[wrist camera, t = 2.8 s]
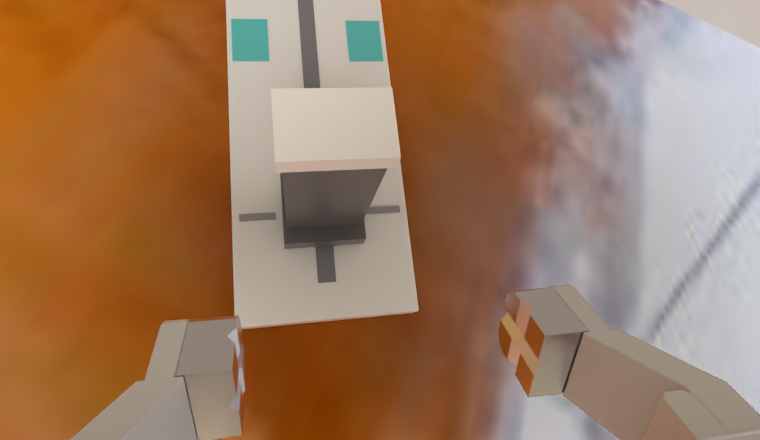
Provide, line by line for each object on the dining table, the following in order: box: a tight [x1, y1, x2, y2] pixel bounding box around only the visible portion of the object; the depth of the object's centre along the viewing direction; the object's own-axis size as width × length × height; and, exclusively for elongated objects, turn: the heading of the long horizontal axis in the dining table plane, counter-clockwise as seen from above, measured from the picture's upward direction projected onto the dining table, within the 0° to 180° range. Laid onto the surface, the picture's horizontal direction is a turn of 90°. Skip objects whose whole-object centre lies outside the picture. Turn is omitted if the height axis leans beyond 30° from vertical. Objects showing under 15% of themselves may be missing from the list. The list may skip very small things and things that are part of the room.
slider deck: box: [226, 0, 419, 329], centre depth 30 cm, size 24×10×2 cm, turn 6°
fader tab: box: [271, 87, 401, 249], centre depth 22 cm, size 4×4×11 cm
